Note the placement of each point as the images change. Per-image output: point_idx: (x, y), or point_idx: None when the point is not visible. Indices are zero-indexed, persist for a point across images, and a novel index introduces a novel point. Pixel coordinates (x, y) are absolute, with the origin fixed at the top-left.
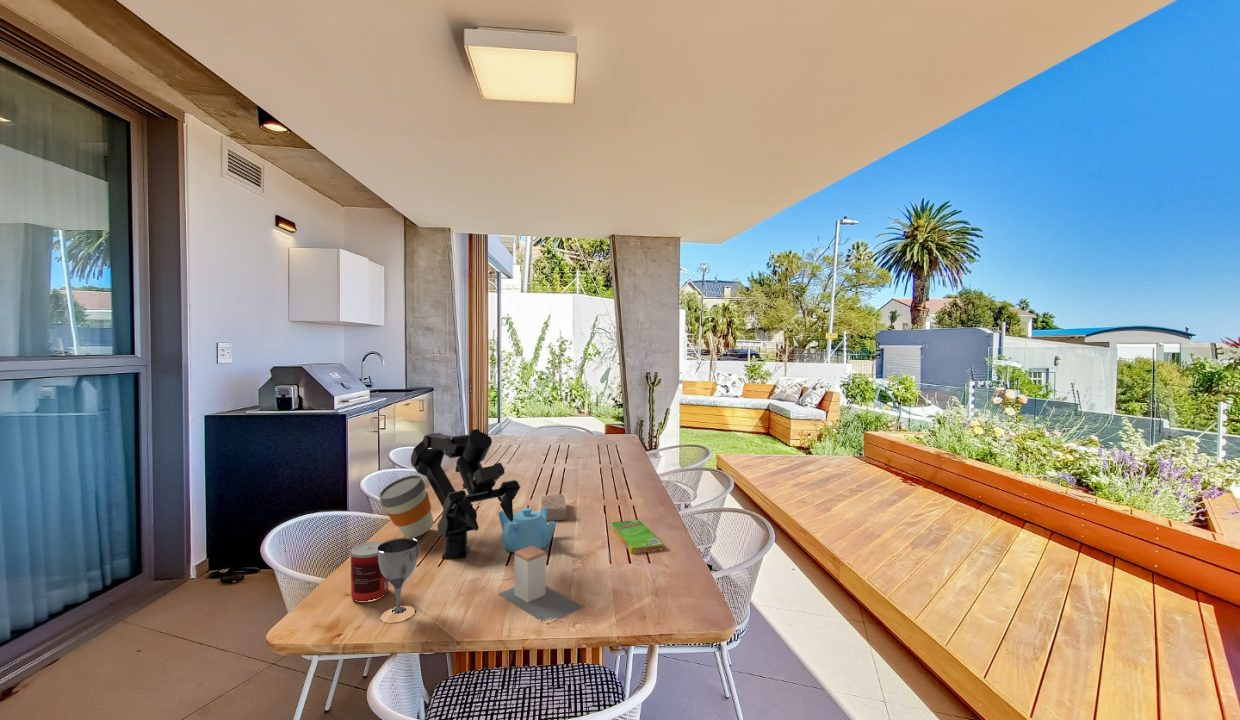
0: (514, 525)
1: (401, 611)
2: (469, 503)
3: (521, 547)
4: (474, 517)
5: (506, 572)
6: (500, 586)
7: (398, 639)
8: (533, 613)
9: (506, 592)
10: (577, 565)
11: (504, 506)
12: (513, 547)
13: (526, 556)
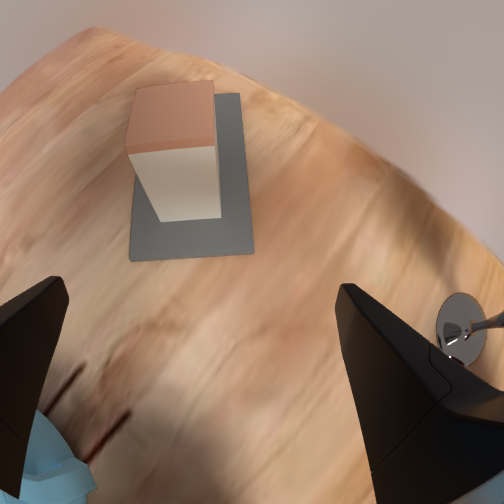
0: (24, 476)
1: (465, 318)
2: (487, 419)
3: (53, 431)
4: (382, 334)
5: (154, 370)
6: (217, 301)
7: (469, 237)
8: (236, 129)
9: (231, 241)
10: (13, 257)
11: (6, 418)
12: (70, 456)
13: (206, 89)
